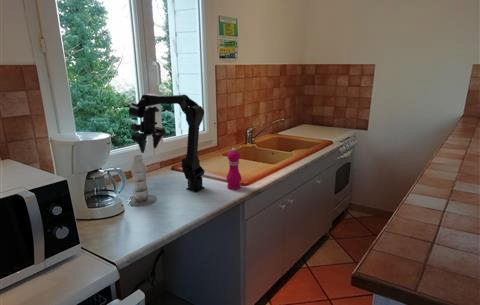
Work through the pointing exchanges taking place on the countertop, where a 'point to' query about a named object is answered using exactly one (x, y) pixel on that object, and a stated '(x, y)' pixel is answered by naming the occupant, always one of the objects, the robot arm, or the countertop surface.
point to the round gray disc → (149, 201)
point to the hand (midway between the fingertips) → (148, 150)
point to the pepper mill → (233, 170)
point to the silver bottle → (139, 179)
